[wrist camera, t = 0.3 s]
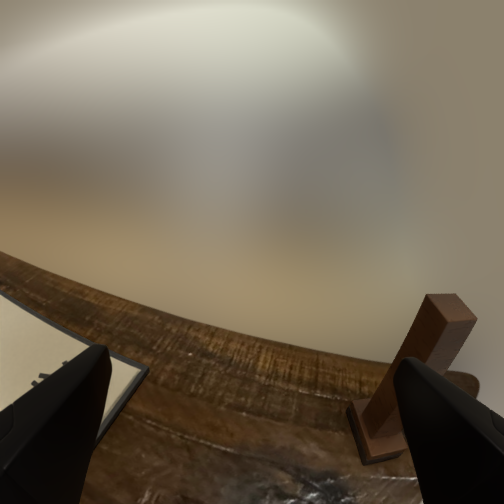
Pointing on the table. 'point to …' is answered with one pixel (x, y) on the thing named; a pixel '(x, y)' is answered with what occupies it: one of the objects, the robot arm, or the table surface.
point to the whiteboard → (53, 358)
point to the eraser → (415, 345)
